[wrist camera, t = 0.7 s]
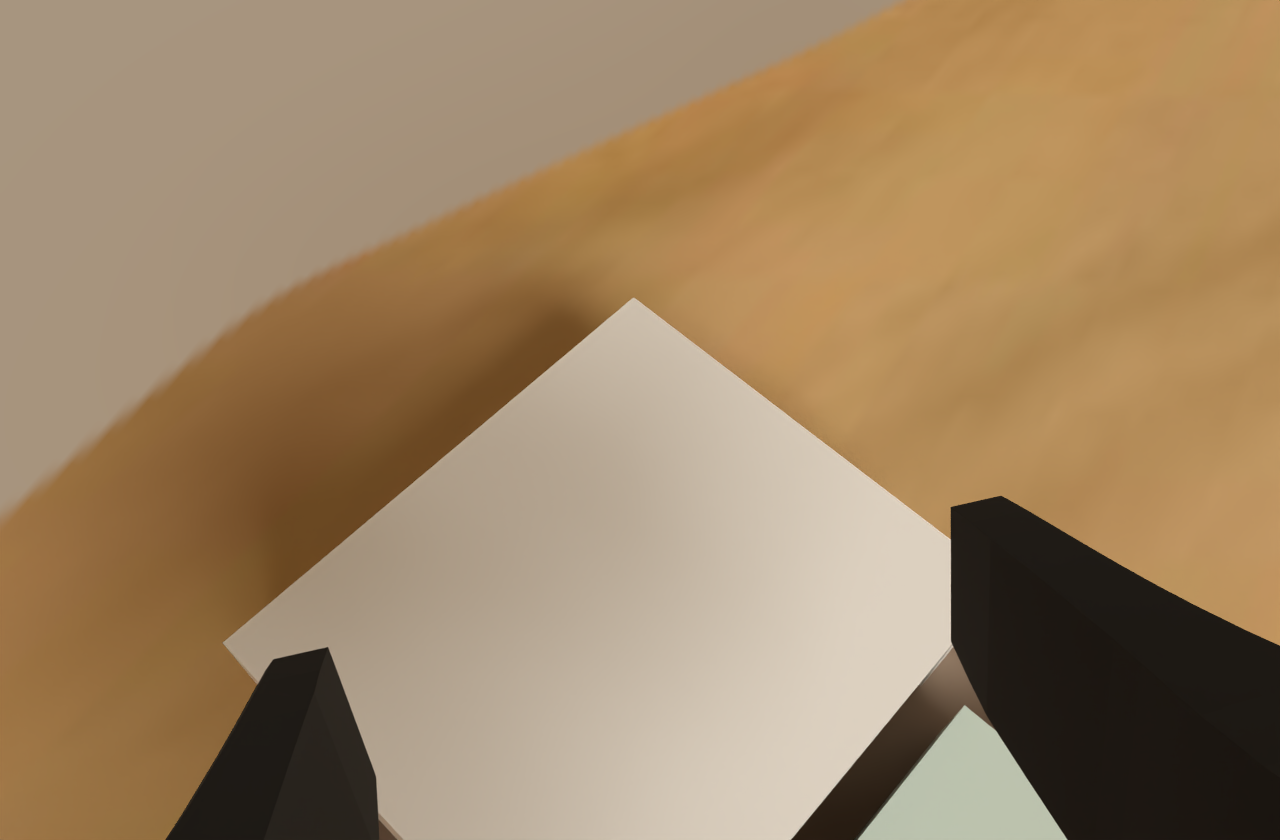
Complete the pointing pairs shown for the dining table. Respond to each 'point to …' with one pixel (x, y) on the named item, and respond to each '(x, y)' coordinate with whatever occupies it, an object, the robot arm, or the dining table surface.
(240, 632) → the white rounded block
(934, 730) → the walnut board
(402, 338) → the dining table surface
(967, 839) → the sage tile
